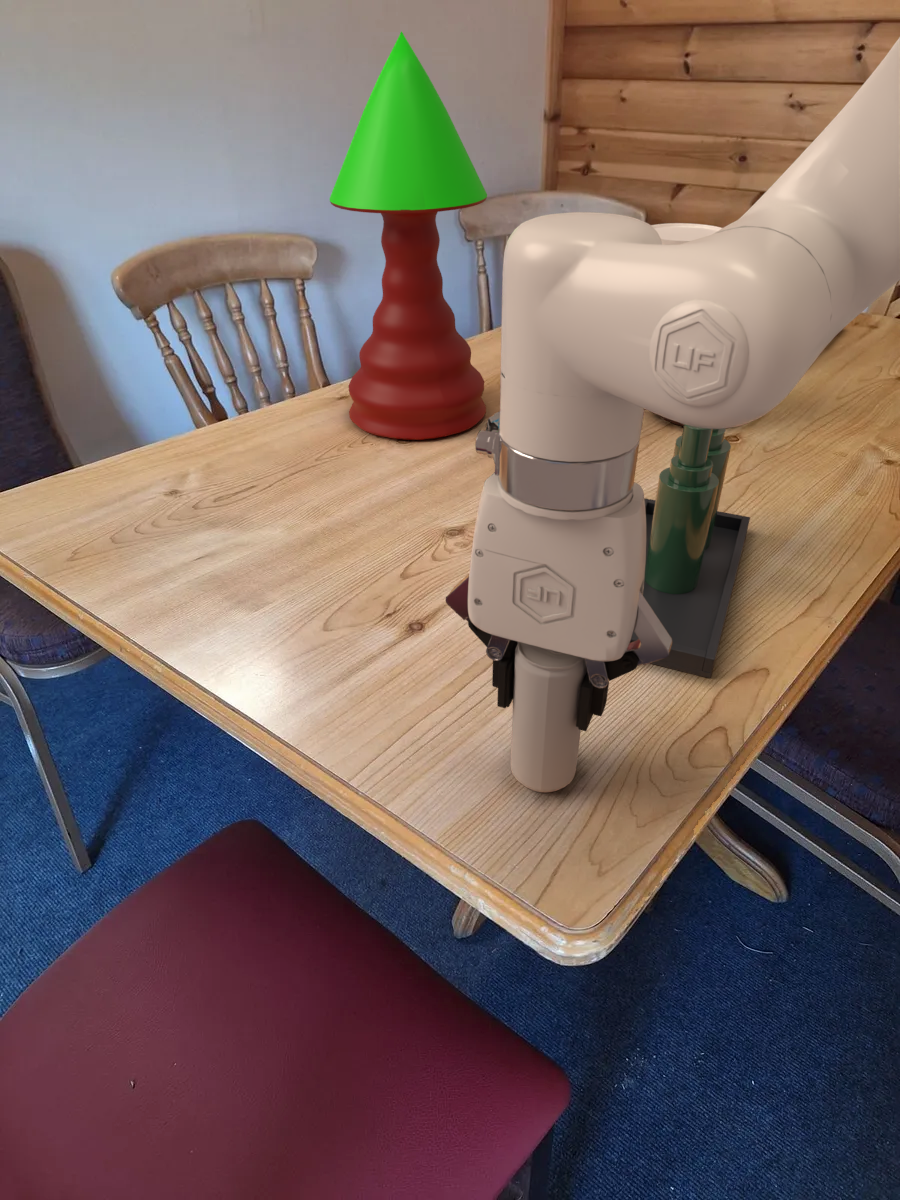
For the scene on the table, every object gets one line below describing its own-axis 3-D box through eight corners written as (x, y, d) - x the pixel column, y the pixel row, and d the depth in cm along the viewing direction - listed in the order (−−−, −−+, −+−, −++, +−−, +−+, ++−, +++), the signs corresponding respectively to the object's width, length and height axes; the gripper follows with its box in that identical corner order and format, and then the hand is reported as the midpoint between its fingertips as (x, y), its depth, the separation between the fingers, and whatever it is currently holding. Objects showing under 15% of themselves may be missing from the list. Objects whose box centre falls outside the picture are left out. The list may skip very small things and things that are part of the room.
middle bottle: (702, 571, 77) (734, 416, 68) (693, 599, 74) (725, 439, 64) (649, 560, 79) (674, 408, 70) (638, 587, 75) (662, 430, 66)
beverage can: (535, 737, 60) (543, 613, 53) (588, 768, 57) (604, 641, 50) (496, 774, 57) (500, 647, 50) (550, 808, 55) (562, 679, 48)
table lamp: (378, 453, 102) (346, 30, 76) (331, 403, 117) (290, 33, 91) (510, 425, 109) (522, 27, 83) (450, 381, 124) (444, 31, 97)
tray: (746, 533, 84) (750, 516, 83) (710, 678, 65) (715, 659, 64) (639, 514, 88) (642, 497, 87) (576, 645, 69) (578, 626, 68)
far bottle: (714, 532, 83) (744, 386, 74) (706, 557, 79) (738, 405, 70) (665, 523, 85) (689, 379, 76) (655, 547, 81) (679, 397, 72)
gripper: (398, 467, 43) (412, 707, 53) (715, 525, 37) (661, 781, 48) (452, 417, 48) (455, 644, 59) (735, 461, 43) (682, 704, 53)
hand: (547, 703), depth 53 cm, fingers closed on beverage can, 4 cm apart
